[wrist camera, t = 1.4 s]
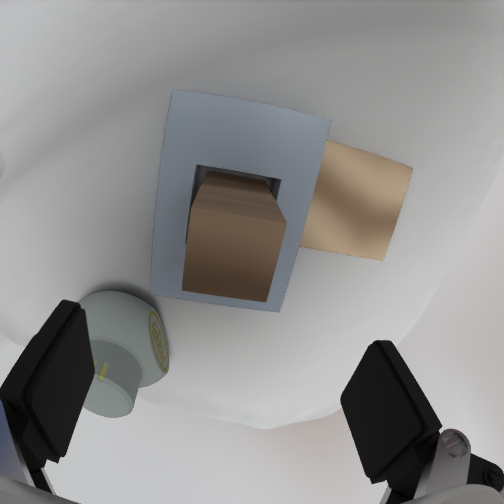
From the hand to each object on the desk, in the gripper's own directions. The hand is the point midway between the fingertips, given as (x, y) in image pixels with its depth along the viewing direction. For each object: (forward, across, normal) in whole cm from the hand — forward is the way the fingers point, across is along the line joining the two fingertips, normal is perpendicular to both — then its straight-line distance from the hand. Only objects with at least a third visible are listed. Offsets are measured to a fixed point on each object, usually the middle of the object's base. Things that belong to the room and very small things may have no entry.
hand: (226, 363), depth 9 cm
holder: (+16, 0, -1) cm, 17 cm away
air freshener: (+17, +8, +13) cm, 23 cm away
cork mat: (+16, -10, -3) cm, 20 cm away
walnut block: (+16, 0, -1) cm, 17 cm away
